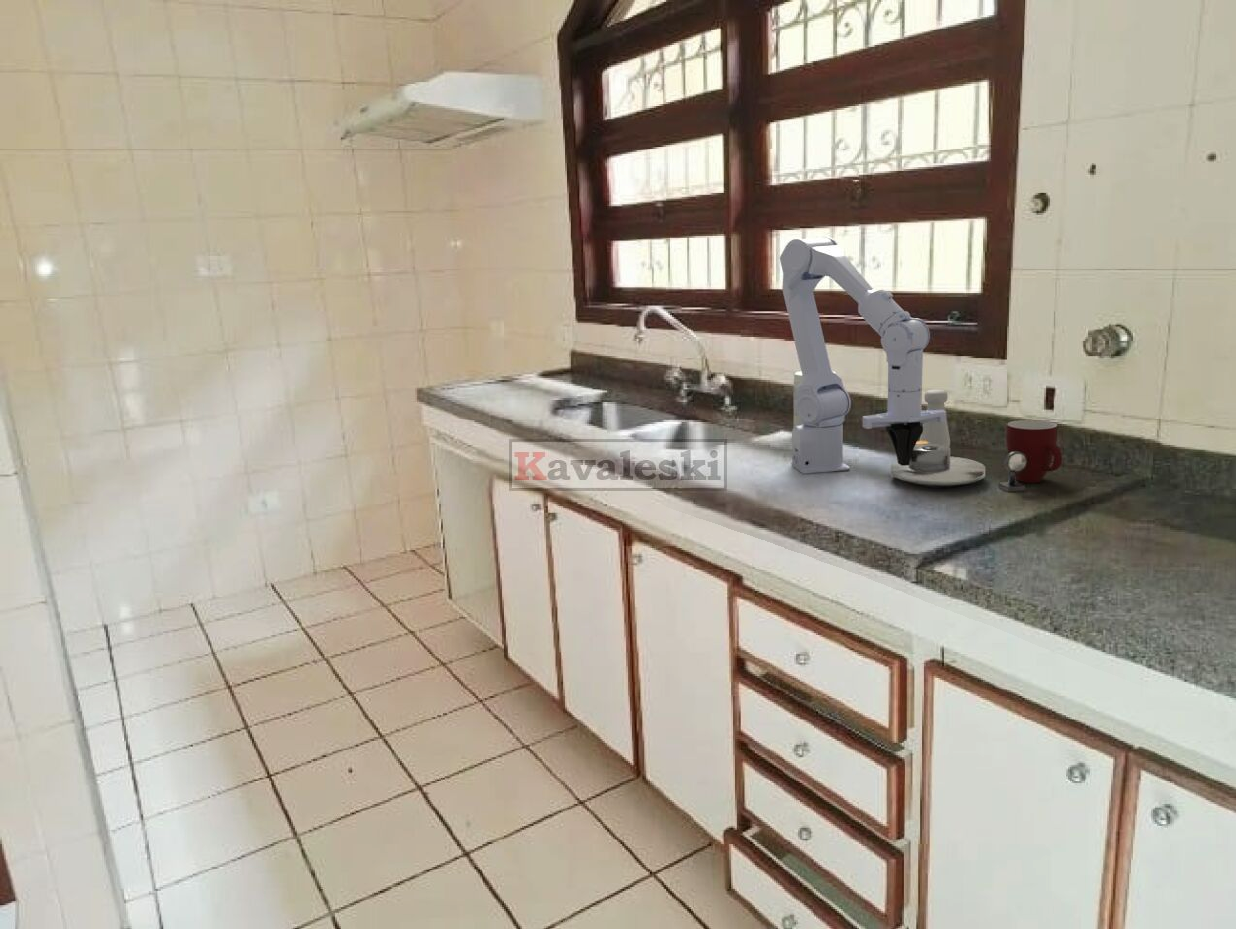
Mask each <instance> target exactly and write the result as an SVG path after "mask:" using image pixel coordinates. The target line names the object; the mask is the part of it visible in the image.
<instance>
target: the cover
mask: <svg viewBox="0 0 1236 929" xmlns="http://www.w3.org/2000/svg"><path fill="white" fill-rule="evenodd" d="M950 456H951V447H950V446H949V447H948V446H945V445H939V444H918V445H915V447H914V449H913V452H912V455H911V458H910V463H909V468H910V469H912V470H914V471H919V472H942V471H946V470H949V469H950Z"/></svg>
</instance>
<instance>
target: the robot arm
mask: <svg viewBox="0 0 1236 929" xmlns="http://www.w3.org/2000/svg"><path fill="white" fill-rule="evenodd" d="M779 261H780V265H781V270H782V276H783V277H782V287H781V288H782V293H783V298H784V302H785V307H786V310H787V311H786V312H787V315H788V318H789V323H790V329H791V332H792V333H791V334H792V337H793V341H794V344H795V349H796V354H797V358H798V362H799V366H800V371H802V376H803V378H802V380H801V382H800V383H799V385H798V386H797V388H796V395H797V403H796V411H797V414H798V417H799V418H800V420H801V421H802V425H800V426H795V427H794V426H793V428H792V430H791V454H792V455H791V460H792V461H791V463H790V464H791V466H793V467H794V468H795V469H797V470H798V472H800V473H801V474H804V475H806V474H814V473H815V474H818V473H827V472H839V471H849V470H851V467H850V466H849V465H847V464H846V463H845V462H843V461H844V458H843V457H844V456H843V454H844V453H843V452H844V451H843V449H844V447H843V444H844V443H843V442H844V440H843V438H844V436H843V435H844V434H843V422H845V416H846V415H848V413H849V412H850V410H851V404H852V403H851V402H852V400H851V397H850V394H849V392H847V390H846V388H845V387H844V383H843V380H842V377H840V376H839V375H837V373H836V374H835V373H833V372H832V371H833V370H832V367H831V363H830V359H829V355H828V351H827V346H826V342H825V339H824V333H823V330H822V329H823V328H822V324H821V321H820V316H819V312H818V308H817V304H816V299H815V294H814V291H815V289H816V287H817V286H818V284H819V283H820V282H821V281H822V280H823V279H824V278H825V277H829V278H830V279H832V281H834V282H835V283H836V284H837V285H838V286H840V287H841V289H842V290H844V291H845V292H846V293H847V294H848V296H850V297H851V298H852V299H854V301H855V302H856V303H857V304H858V307H857V308H858V314H859V315H860V316H861V317H862V318H863V319H864V320H865V321H866V323H868V325H870V327H871V328H872V329H873V330H874V331H875V333H877V335H879V336H880V337H881V338H880V345H881V347H882V349H883V351H884V353H885V354H886V362H887V410H886V412H884V413H877V414H872V415H864V416H862V428H864V429H866V430H869V429H870V430H871V429H873V428H883V427H884V428H885V430H886V432H887V434H888V435H889V437H890V439H891V442H892V444H893V447H894V451H895V455H896V461H897V460H898V464H900V465H902V466H905V465H909V463H910V458H911V455H912V452H913V449H914V447H915V444H916V442H917V441H919V440H920V437H921V434H922V433H923V425H921V424H924V423H932V422H940V423H943V422H946V418H947V411H946V410H945V411H943V410H927V409H926V410H922V408H923V407H922V404H923V403H922V402H923V362H924V360H923V359H924V357H923V356H924V349H925V348H927V346H928V345H929V342H930V340H931V333H930V332H931V331H930V329H929V327H928V326H927V324H926V323H925V320H923V319H921V318H917V317H915V318H914V317H911V314H910V312H909V311H907V310H906V311H905V310H904V309H903V308H902V307H901V306H900V304H898V303H897V302H896V301H895V300H894V299H893V297H894V295H893V294H892V293H891V291H886V290H884V289H873V287H872V286H871V285H870V283H869V282H868V281H867V280H866V278H865V277H864V276H863V275H862V274H861V272H860V271H859V270H858V269H857V268H856V267H855V266H854V264H853V263H852V262H851V261H850V260H849V259H848V257H847V256H846V254H845V249H844V248H843V246H841V245H840V244H838V242H837V241H836V240H835V239H834V238H833V237H829V236H822V237H818V238H804V239H803V238H802V239H801V238H794V239H791V240H790V241H788V243H787V244H786V245H785V247H784V248H783V251H782V253H781V254H780V256H779ZM818 388H821V389H822V390H819V391H817V390H818Z"/></svg>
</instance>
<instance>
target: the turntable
mask: <svg viewBox="0 0 1236 929" xmlns="http://www.w3.org/2000/svg"><path fill="white" fill-rule="evenodd" d="M918 444H930V443H929V442H927V441H920V440H917V442H916V444H915V445H918ZM890 475H891V476H892V477H893V478H895V479H896V480H897V479H899V480H900V481H903V482H908V483H911V484H913V483H917V484H926V485H959V484H963V485H965V484H971V483H975V482H978V481H981V480H982V479H984V478H985V477H986V466H985V465H984V464H983V463H981V462H979V461H977V460H974V459H969V458H964V457H956V456H951V455H950V469H949V470H946V471H942V472H919V471H914V470H912V469H910V468H909V465H905V466H902V465H900V464H898V460H897V459H896V460H895V461H893V462H892V463H891V464H890Z"/></svg>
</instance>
